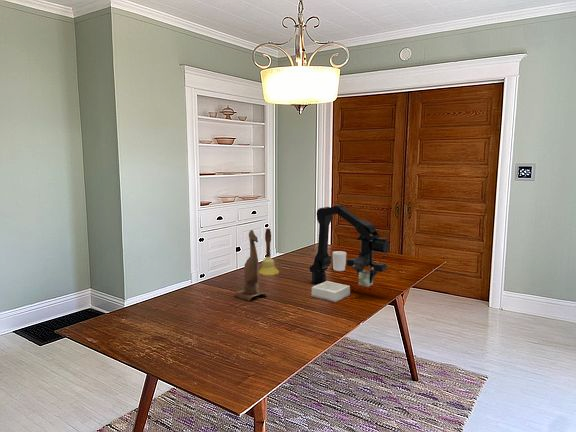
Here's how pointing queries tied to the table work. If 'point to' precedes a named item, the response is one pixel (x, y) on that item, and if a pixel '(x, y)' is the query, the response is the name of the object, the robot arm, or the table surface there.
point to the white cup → (339, 260)
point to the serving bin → (330, 291)
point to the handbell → (268, 258)
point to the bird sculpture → (251, 273)
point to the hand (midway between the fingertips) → (365, 282)
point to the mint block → (364, 278)
